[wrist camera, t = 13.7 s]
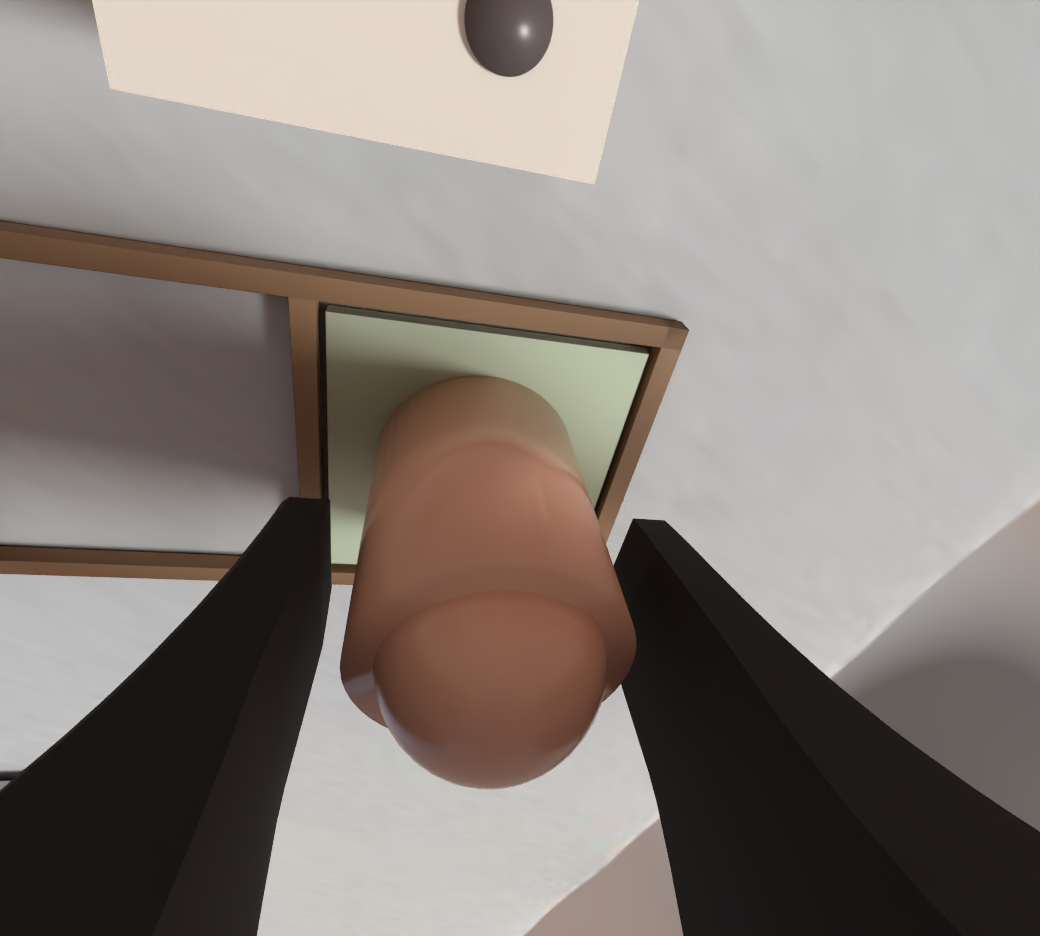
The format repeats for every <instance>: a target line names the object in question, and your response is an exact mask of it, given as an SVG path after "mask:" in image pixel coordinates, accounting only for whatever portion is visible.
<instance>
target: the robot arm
mask: <svg viewBox="0 0 1040 936" xmlns="http://www.w3.org/2000/svg"><path fill="white" fill-rule="evenodd" d="M613 567H614V570H615V573H616V576H617V578H618V581H619V584H620V587H621V590H622V593H623V596H624V599H625V602H626V605H627V608H628V611H629V614H630V617H631V620H632V622H633V625H634V630H635V634H636V652H635V657H634V661H633V663H632V666H631V668H630V670H629V672H628V674H627V675H626V677H625V679H624V680H623V682H622V683H621V685H622V688H623V692H624V695H625V698H626V701H627V704H628V708H629V711H630V714H631V717H632V720H633V724H634V727H635V730H636V733H637V736H638V740H639V743H640V746H641V749H642V752H643V756H644V759H645V762H646V765H647V768H648V772H649V775H650V779H651V783H652V786H653V790H654V794H655V797H656V801H657V806H658V810H659V815H660V820H661V824H662V829H663V834H664V838H665V843H666V848H667V853H668V857H669V862H670V867H671V872H672V877H673V883H674V888H675V893H676V898H677V904H678V909H679V914H680V919H681V925H682V930H683V935H684V936H1040V832H1039V831H1038V830H1036V829H1035V828H1033V827H1032V826H1030V825H1028V824H1027V823H1025V822H1024V821H1022V820H1021V819H1019V818H1017V817H1016V816H1015V815H1013V814H1012V813H1010V812H1008V811H1007V810H1005V809H1004V808H1002V807H1001V806H1000V805H998V804H997V803H995V802H994V801H992V800H991V799H989V798H988V797H986V796H985V795H983V794H982V793H980V792H979V791H977V790H976V789H974V788H973V787H972V786H970V785H969V784H967V783H966V782H964V781H963V780H962V779H960V778H959V777H957V776H956V775H955V774H953V773H952V772H950V771H949V770H948V769H946V768H945V767H943V766H942V765H941V764H939V763H938V762H936V761H935V760H934V759H932V758H931V757H930V756H928V755H927V754H925V753H924V752H922V751H921V750H920V749H918V748H917V747H916V746H914V745H913V744H911V743H910V742H909V741H907V740H906V739H905V738H904V737H902V736H901V735H900V734H898V733H897V732H895V731H894V730H893V729H891V728H890V727H889V726H888V725H886V724H885V723H884V722H883V721H881V720H880V719H879V718H878V717H876V716H875V715H874V714H873V713H871V712H870V711H869V710H868V709H867V708H865V707H864V706H863V705H861V704H860V703H859V702H858V701H857V700H855V699H854V698H853V697H852V696H850V695H849V694H848V693H846V692H845V691H844V690H843V689H842V688H840V687H839V686H838V685H837V684H836V683H835V682H833V681H832V680H831V679H830V678H829V677H827V676H826V675H825V674H824V673H823V672H822V671H820V670H819V669H818V668H817V667H816V666H815V665H814V664H813V663H811V662H810V661H809V660H808V659H807V658H806V657H805V656H804V655H803V654H801V653H800V652H799V651H798V650H797V649H796V648H795V647H794V646H793V645H791V644H790V643H789V642H788V641H787V640H786V639H785V638H784V637H783V636H782V635H781V634H779V633H778V632H777V631H776V630H775V629H774V628H773V627H772V626H771V625H770V624H769V623H768V622H767V621H766V620H765V619H764V618H763V617H762V616H761V615H759V614H758V613H757V612H756V611H755V610H754V609H753V608H752V607H751V606H750V605H749V604H748V603H747V602H746V601H745V600H744V599H743V598H742V597H741V596H740V595H739V594H738V593H737V592H736V591H735V590H734V589H733V588H732V587H731V586H730V585H729V584H728V583H727V582H726V581H725V580H724V579H723V578H722V577H721V576H720V575H719V574H718V573H717V572H716V571H715V570H714V569H713V568H712V567H711V566H710V565H709V564H708V563H707V562H706V561H705V560H704V559H703V558H702V556H701V555H700V554H699V553H698V552H697V551H696V550H695V549H694V548H693V547H692V546H691V545H690V544H689V543H688V542H687V541H686V540H685V539H684V538H683V537H682V536H681V535H680V534H679V533H678V532H676V531H675V530H674V529H673V528H672V527H671V526H670V525H669V524H668V523H667V522H666V521H663V520H647V519H633V520H632V523H631V525H630V527H629V530H628V532H627V535H626V537H625V539H624V542H623V544H622V547H621V549H620V552H619V554H618V556H617V559H616V561H615V564H614V566H613ZM331 588H332V582H331V517H330V499H314V498H299V497H289V498H287V499H286V500H284V501H283V502H282V503H281V504H280V506H279V507H278V509H277V510H276V511H275V513H274V514H273V516H272V517H271V518H270V520H269V521H268V522H267V524H266V525H265V526H264V528H263V529H262V530H261V532H260V533H259V534H258V535H257V537H256V538H255V539H254V540H253V542H252V543H251V544H250V545H249V547H248V548H247V549H246V550H245V552H244V553H243V554H242V555H241V556H240V558H239V559H238V560H237V561H236V563H235V564H234V565H233V566H232V567H231V568H230V570H229V571H228V572H227V573H226V574H225V575H224V576H223V578H222V579H221V580H220V581H219V582H218V583H217V584H216V586H215V587H214V588H213V589H212V590H211V591H210V592H209V594H208V595H207V596H206V597H205V598H204V599H203V600H202V602H201V603H200V604H199V605H198V606H197V607H196V608H195V609H194V610H193V611H192V612H191V614H190V615H189V616H188V617H187V618H186V619H185V620H184V621H183V622H182V623H181V624H180V625H179V626H178V627H177V628H176V629H175V630H174V631H173V632H172V633H171V634H170V635H169V636H168V637H167V638H166V639H165V640H164V641H163V642H162V644H161V645H160V646H159V647H158V648H157V649H156V650H155V651H154V652H153V653H152V654H151V655H150V656H149V657H148V658H147V659H146V660H145V661H144V662H143V663H142V664H141V665H140V666H139V667H138V668H137V669H136V670H135V671H134V672H133V673H132V674H131V675H130V676H128V677H127V678H126V679H125V680H124V681H123V682H122V683H121V684H120V685H119V686H118V687H117V688H116V689H115V690H114V691H113V692H112V693H111V694H110V695H108V696H107V697H106V698H105V699H104V700H103V701H102V702H101V703H100V704H99V705H98V706H97V707H95V708H94V709H93V710H92V711H91V712H90V713H89V714H88V715H87V716H85V717H84V718H83V719H82V720H81V721H80V722H79V723H78V724H77V725H76V726H74V727H73V728H72V729H71V730H70V731H69V732H68V733H67V734H65V735H64V736H63V737H62V738H61V739H60V740H59V741H57V742H56V743H55V744H54V745H53V746H52V747H50V748H49V749H48V750H47V751H46V752H44V753H43V754H42V755H41V756H40V757H39V758H37V759H36V760H35V761H34V762H33V763H31V764H30V765H29V766H28V767H27V768H26V769H24V770H23V771H22V772H21V773H20V774H19V775H17V776H16V777H15V778H14V779H13V780H11V781H0V936H257V930H258V925H259V919H260V913H261V907H262V901H263V896H264V890H265V884H266V879H267V873H268V868H269V862H270V856H271V851H272V845H273V840H274V834H275V829H276V823H277V818H278V814H279V810H280V805H281V801H282V797H283V792H284V788H285V784H286V780H287V777H288V773H289V769H290V766H291V762H292V758H293V754H294V751H295V747H296V743H297V740H298V736H299V732H300V728H301V725H302V721H303V717H304V714H305V710H306V706H307V702H308V699H309V695H310V691H311V687H312V684H313V680H314V676H315V672H316V669H317V665H318V661H319V657H320V653H321V650H322V646H323V639H324V633H325V627H326V621H327V614H328V607H329V601H330V594H331Z"/></svg>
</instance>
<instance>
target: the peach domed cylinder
mask: <svg viewBox="0 0 1040 936" xmlns="http://www.w3.org/2000/svg"><path fill="white" fill-rule="evenodd" d="M635 652H636V634H635V630H634V625H633V622H632V620H631V617H630V614H629V611H628V608H627V605H626V602H625V599H624V596H623V593H622V590H621V587H620V584H619V581H618V578H617V576H616V573H615V570H614V567H613V564H612V561H611V558H610V555H609V552H608V549H607V546H606V543H605V540H604V537H603V534H602V531H601V529H600V526H599V523H598V520H597V517H596V514H595V511H594V508H593V505H592V502H591V499H590V496H589V493H588V490H587V487H586V485H585V482H584V479H583V476H582V473H581V470H580V467H579V464H578V461H577V458H576V455H575V452H574V449H573V446H572V443H571V441H570V438H569V435H568V432H567V429H566V427H565V425H564V423H563V420H562V419H561V417H560V416H559V414H558V413H557V411H556V410H555V409H554V408H553V407H552V406H551V405H550V403H549V402H547V401H546V400H545V399H544V398H543V397H541V396H540V395H539V394H537V393H536V392H534V391H532V390H531V389H529V388H527V387H525V386H523V385H521V384H518V383H516V382H513V381H510V380H506V379H502V378H497V377H491V376H462V377H456V378H451V379H447V380H443V381H440V382H437V383H434V384H432V385H430V386H427V387H425V388H423V389H421V390H420V391H418V392H416V393H415V394H413V395H411V396H410V397H409V398H408V399H406V400H405V401H404V402H403V403H401V404H400V405H399V406H398V407H397V409H396V410H395V411H394V412H393V413H392V414H391V416H390V417H389V419H388V420H387V421H386V423H385V425H384V427H383V429H382V431H381V433H380V436H379V440H378V443H377V448H376V454H375V460H374V466H373V472H372V478H371V483H370V489H369V495H368V501H367V507H366V513H365V519H364V525H363V530H362V536H361V542H360V548H359V554H358V560H357V566H356V572H355V577H354V583H353V589H352V595H351V601H350V607H349V613H348V619H347V624H346V630H345V636H344V642H343V648H342V654H341V662H340V673H341V680H342V683H343V685H344V688H345V691H346V692H347V694H348V696H349V697H350V699H351V700H352V702H353V703H354V704H355V705H356V706H357V707H358V708H359V709H360V710H361V711H362V712H363V713H364V714H366V715H367V716H368V717H369V718H371V719H372V720H374V721H376V722H377V723H379V724H381V725H382V726H384V727H387V728H388V729H389V730H390V732H391V734H392V735H393V737H394V738H395V740H396V741H397V743H398V744H399V746H400V747H401V748H402V749H403V750H404V751H405V752H406V753H407V754H408V755H409V756H410V757H411V758H412V759H413V760H414V761H415V762H416V763H417V764H418V765H420V766H421V767H423V768H424V769H425V770H427V771H428V772H430V773H431V774H433V775H435V776H437V777H439V778H441V779H444V780H446V781H448V782H451V783H453V784H456V785H459V786H464V787H470V788H477V789H501V788H508V787H513V786H517V785H520V784H523V783H526V782H529V781H531V780H533V779H536V778H538V777H540V776H542V775H544V774H546V773H547V772H549V771H550V770H552V769H553V768H555V767H556V766H557V765H559V764H560V763H561V762H562V761H564V760H565V759H566V758H567V757H568V756H569V755H570V754H571V753H572V752H573V751H574V750H575V748H576V747H577V746H578V745H579V744H580V743H581V742H582V740H583V739H584V737H585V735H586V734H587V732H588V731H589V729H590V727H591V726H592V724H593V722H594V720H595V718H596V715H597V713H598V711H599V708H600V705H601V703H602V702H603V701H604V700H606V699H607V698H608V697H609V696H610V695H611V694H612V693H613V692H614V691H615V690H616V689H617V688H618V686H619V685H620V684H621V683H622V682H623V680H624V679H625V677H626V675H627V674H628V672H629V670H630V668H631V666H632V663H633V661H634V657H635Z"/></svg>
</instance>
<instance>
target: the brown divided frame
mask: <svg viewBox="0 0 1040 936" xmlns="http://www.w3.org/2000/svg"><path fill="white" fill-rule="evenodd" d="M0 258H4V259H12V260H19V261H27V262H34V263H41V264H49V265H56V266H63V267H71V268H78V269H86V270H93V271H100V272H108V273H115V274H122V275H130V276H137V277H144V278H152V279H159V280H167V281H174V282H181V283H189V284H196V285H203V286H211V287H218V288H226V289H233V290H240V291H248V292H255V293H262V294H270V295H277V296H285V297H288V300H289V317H290V335H291V352H292V370H293V387H294V405H295V422H296V439H297V457H298V474H299V492H300V498H314V499H324V485H323V444H322V402H321V361H320V320H319V301H321V302H329V303H336V304H344V305H351V306H358V307H366V308H373V309H380V310H388V311H395V312H403V313H410V314H417V315H425V316H432V317H439V318H447V319H454V320H462V321H469V322H476V323H484V324H491V325H498V326H506V327H513V328H520V329H528V330H535V331H543V332H550V333H557V334H565V335H572V336H579V337H587V338H594V339H602V340H609V341H616V342H624V343H631V344H638V345H646V346H652V348H651V350H650V353H649V354H648V352H647V351H646V349H645V348H644V347H637V346H630V345H622V344H615V343H608V342H600V341H593V340H585V339H578V338H570V337H563V336H556V335H548V334H541V333H533V332H526V331H519V330H511V329H504V328H496V327H489V326H481V325H474V324H467V323H459V322H452V321H444V320H437V319H429V318H422V317H415V316H407V315H400V314H392V313H385V312H378V311H370V310H363V309H355V308H348V307H340V306H333V305H328V307H327V309H326V365H327V422H328V480H329V499H330V517H331V582H332V584H340V585H353V583H354V577H355V572H356V566H357V560H358V554H359V548H360V542H361V536H362V530H363V525H364V519H365V513H366V507H367V501H368V495H369V489H370V483H371V478H372V472H373V466H374V460H375V454H376V448H377V443H378V440H379V436H380V433H381V431H382V429H383V427H384V425H385V423H386V421H387V420H388V419H389V417H390V416H391V414H392V413H393V412H394V411H395V410H396V409H397V407H398V406H399V405H400V404H401V403H403V402H404V401H405V400H406V399H408V398H409V397H410V396H411V395H413V394H415V393H416V392H418V391H420V390H421V389H423V388H425V387H427V386H430V385H432V384H434V383H437V382H440V381H443V380H447V379H451V378H456V377H462V376H491V377H497V378H502V379H506V380H510V381H513V382H516V383H518V384H521V385H523V386H525V387H527V388H529V389H531V390H532V391H534V392H536V393H537V394H539V395H540V396H541V397H543V398H544V399H545V400H546V401H547V402H549V403H550V405H551V406H552V407H553V408H554V409H555V410H556V411H557V413H558V414H559V416H560V417H561V419H562V420H563V423H564V425H565V427H566V429H567V432H568V435H569V438H570V441H571V443H572V446H573V449H574V452H575V455H576V458H577V461H578V464H579V467H580V470H581V473H582V476H583V479H584V482H585V485H586V487H587V490H588V493H589V496H590V499H591V502H592V505H593V508H595V509H594V511H595V514H596V517H597V520H598V523H599V526H600V529H601V531H602V534H603V537H604V540H605V543H606V542H607V540H608V537H609V535H610V532H611V529H612V527H613V524H614V522H615V519H616V517H617V514H618V511H619V509H620V506H621V504H622V501H623V499H624V496H625V493H626V491H627V488H628V486H629V483H630V481H631V478H632V475H633V473H634V470H635V468H636V465H637V463H638V460H639V457H640V455H641V452H642V450H643V447H644V445H645V442H646V440H647V437H648V434H649V432H650V429H651V427H652V424H653V422H654V419H655V416H656V414H657V411H658V409H659V406H660V404H661V401H662V398H663V396H664V393H665V391H666V388H667V386H668V383H669V380H670V378H671V375H672V373H673V370H674V368H675V365H676V362H677V360H678V357H679V355H680V352H681V350H682V347H683V344H684V342H685V339H686V337H687V334H688V332H689V330H688V328H687V327H686V326H685V325H684V324H683V323H682V322H680V321H673V320H667V319H660V318H653V317H646V316H640V315H633V314H626V313H619V312H613V311H606V310H599V309H592V308H585V307H579V306H572V305H565V304H558V303H552V302H545V301H538V300H531V299H525V298H518V297H511V296H504V295H498V294H491V293H484V292H477V291H470V290H464V289H457V288H450V287H443V286H437V285H430V284H423V283H416V282H410V281H403V280H396V279H389V278H382V277H376V276H369V275H362V274H355V273H349V272H342V271H335V270H328V269H322V268H315V267H308V266H301V265H294V264H288V263H281V262H274V261H267V260H261V259H254V258H247V257H240V256H234V255H227V254H220V253H213V252H207V251H200V250H193V249H186V248H179V247H173V246H166V245H159V244H152V243H146V242H139V241H132V240H125V239H119V238H112V237H105V236H98V235H91V234H85V233H78V232H71V231H64V230H58V229H51V228H44V227H37V226H31V225H24V224H17V223H10V222H3V221H0ZM648 355H649V356H648ZM647 358H648V359H647ZM646 361H647V362H646ZM645 364H646V365H645ZM643 369H644V370H643ZM642 372H643V373H642ZM641 375H642V376H641ZM640 378H641V379H640ZM639 381H640V382H639ZM637 386H638V387H637ZM636 389H637V390H636ZM635 392H636V393H635ZM634 395H635V396H634ZM632 400H633V401H632ZM631 403H632V404H631ZM630 406H631V407H630ZM629 409H630V410H629ZM628 412H629V413H628ZM626 417H627V418H626ZM625 420H626V421H625ZM624 423H625V424H624ZM623 426H624V427H623ZM622 429H623V430H622ZM620 434H621V435H620ZM619 437H620V438H619ZM618 440H619V441H618ZM617 443H618V444H617ZM616 446H617V447H616ZM614 451H615V452H614ZM613 454H614V455H613ZM612 457H613V458H612ZM611 460H612V461H611ZM608 468H609V469H608ZM607 471H608V472H607ZM606 474H607V475H606ZM605 477H606V478H605ZM603 482H604V483H603ZM602 485H603V486H602ZM601 488H602V489H601ZM600 491H601V492H600ZM599 494H600V495H599ZM597 499H598V500H597ZM596 502H597V503H596ZM595 505H596V506H595ZM239 558H240V556H229V555H205V554H181V553H156V552H132V551H107V550H83V549H58V548H34V547H9V546H0V574H26V575H57V576H88V577H120V578H151V579H183V580H214V581H220V580H221V579H222V578H223V576H224V575H225V574H226V573H227V572H228V571H229V570H230V568H231V567H232V566H233V565H234V564H235V563H236V561H237V560H238V559H239Z"/></svg>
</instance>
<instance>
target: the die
mask: <svg viewBox="0 0 1040 936" xmlns="http://www.w3.org/2000/svg"><path fill="white" fill-rule="evenodd" d="M92 3H93V8H94V12H95V17H96V22H97V27H98V32H99V37H100V42H101V47H102V52H103V57H104V61H105V66H106V71H107V76H108V81H109V86H110V89H114V90H119V91H124V92H129V93H134V94H139V95H144V96H149V97H154V98H159V99H164V100H169V101H175V102H180V103H185V104H190V105H195V106H200V107H205V108H210V109H215V110H220V111H225V112H230V113H235V114H240V115H245V116H250V117H255V118H261V119H266V120H271V121H276V122H281V123H286V124H291V125H296V126H301V127H306V128H311V129H316V130H321V131H326V132H331V133H336V134H342V135H347V136H352V137H357V138H362V139H367V140H372V141H377V142H382V143H387V144H392V145H397V146H402V147H407V148H412V149H417V150H423V151H428V152H433V153H438V154H443V155H448V156H453V157H458V158H463V159H468V160H473V161H478V162H483V163H488V164H493V165H498V166H503V167H509V168H514V169H519V170H524V171H529V172H534V173H539V174H544V175H549V176H554V177H559V178H564V179H569V180H574V181H579V182H584V183H590V184H595V181H596V177H597V172H598V168H599V164H600V160H601V156H602V152H603V148H604V144H605V139H606V135H607V131H608V127H609V123H610V119H611V115H612V111H613V107H614V102H615V98H616V94H617V90H618V86H619V82H620V78H621V74H622V69H623V65H624V61H625V57H626V53H627V49H628V45H629V41H630V37H631V32H632V28H633V24H634V20H635V16H636V12H637V8H638V4H639V0H92Z"/></svg>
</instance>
